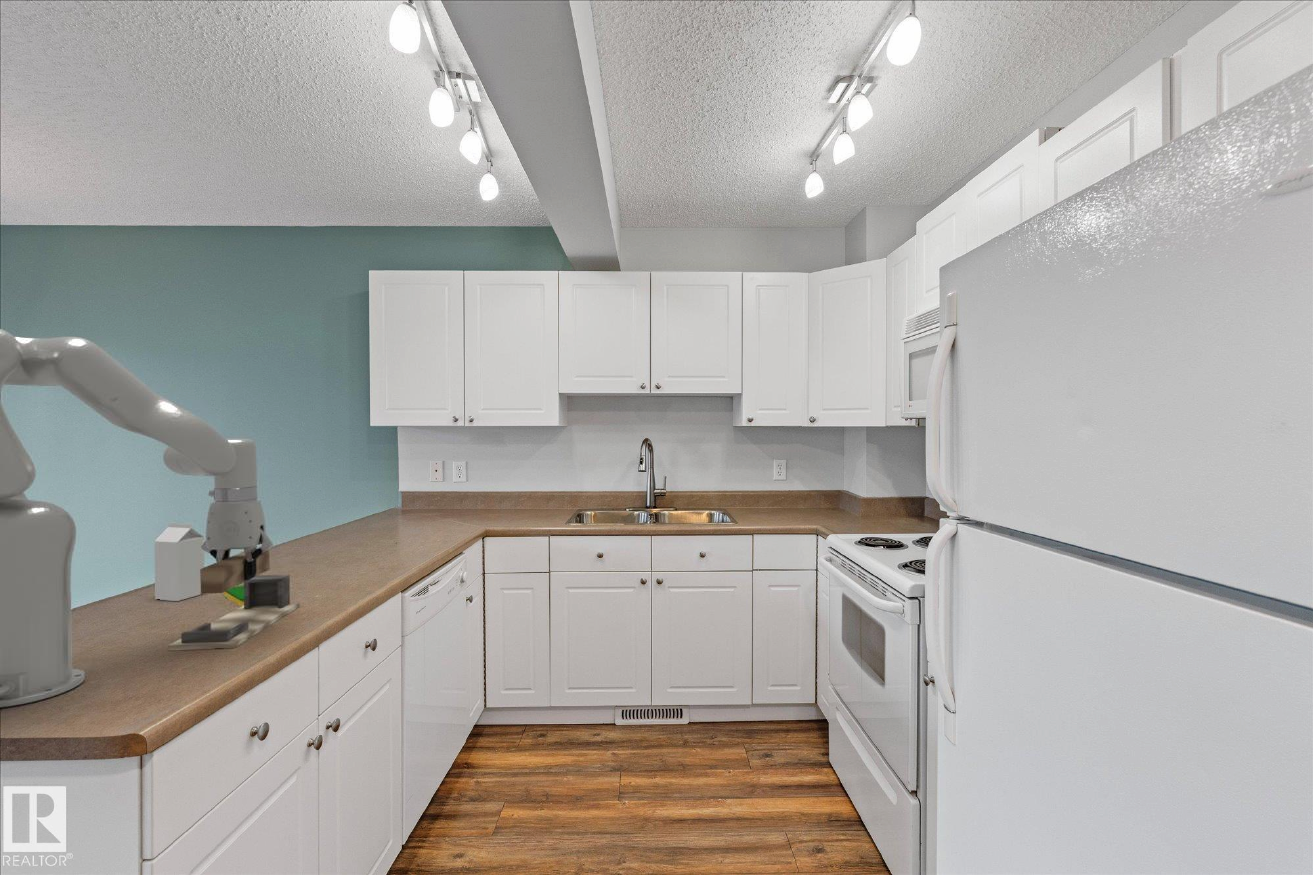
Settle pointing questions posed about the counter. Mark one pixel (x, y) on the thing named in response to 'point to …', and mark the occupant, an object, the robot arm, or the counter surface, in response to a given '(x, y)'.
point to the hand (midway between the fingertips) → (238, 578)
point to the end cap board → (243, 616)
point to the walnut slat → (229, 572)
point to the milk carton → (178, 563)
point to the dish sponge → (236, 595)
